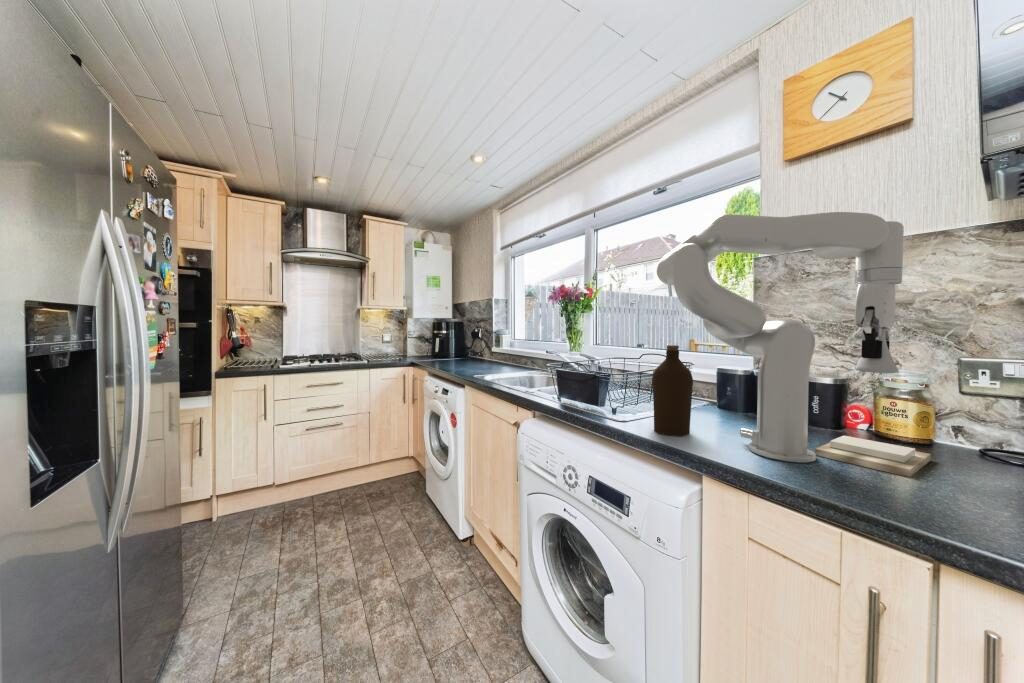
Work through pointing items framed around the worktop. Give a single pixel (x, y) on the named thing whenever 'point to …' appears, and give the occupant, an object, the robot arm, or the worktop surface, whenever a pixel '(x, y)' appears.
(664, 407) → the olive oil
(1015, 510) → the worktop surface
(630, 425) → the worktop surface
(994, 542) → the worktop surface
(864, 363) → the flask
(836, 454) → the board
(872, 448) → the tile
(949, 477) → the worktop surface
